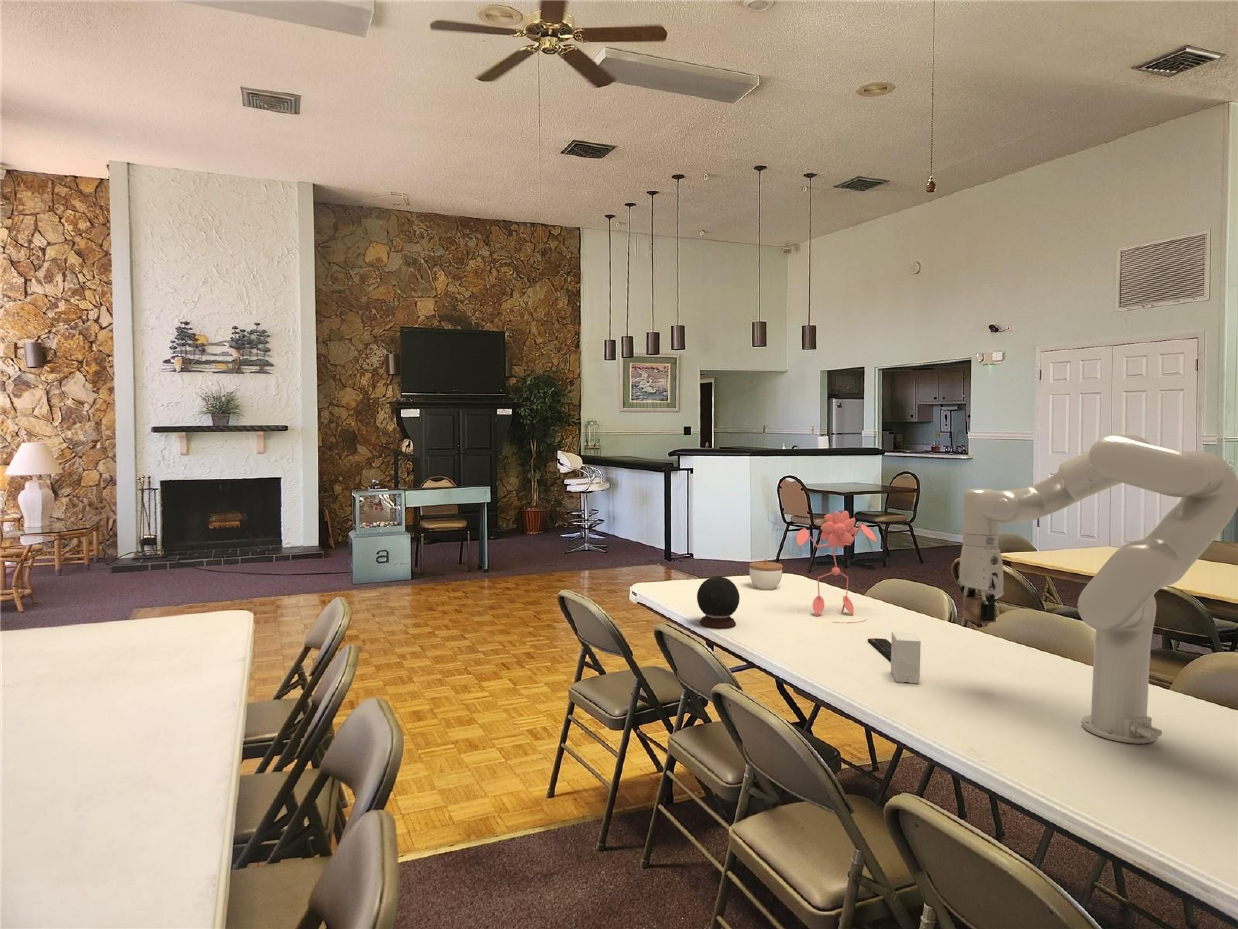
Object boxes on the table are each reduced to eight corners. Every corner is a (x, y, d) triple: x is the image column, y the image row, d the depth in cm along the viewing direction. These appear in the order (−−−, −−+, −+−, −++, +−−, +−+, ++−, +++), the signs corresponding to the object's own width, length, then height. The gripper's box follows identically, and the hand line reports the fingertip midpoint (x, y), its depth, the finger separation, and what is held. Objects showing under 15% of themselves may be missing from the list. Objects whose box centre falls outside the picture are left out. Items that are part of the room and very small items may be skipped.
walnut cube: (995, 622, 176) (996, 601, 176) (977, 623, 175) (977, 602, 175) (981, 617, 181) (981, 596, 181) (962, 618, 180) (963, 597, 180)
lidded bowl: (763, 583, 298) (763, 555, 298) (788, 588, 289) (789, 560, 288) (741, 587, 290) (742, 558, 290) (767, 593, 281) (768, 563, 280)
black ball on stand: (699, 630, 228) (700, 581, 228) (693, 618, 241) (694, 572, 241) (742, 630, 229) (743, 581, 228) (734, 619, 242) (735, 572, 241)
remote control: (895, 669, 195) (896, 664, 195) (867, 642, 219) (867, 638, 219) (916, 669, 195) (916, 664, 195) (885, 643, 219) (885, 638, 219)
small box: (919, 684, 182) (921, 641, 181) (895, 682, 183) (896, 639, 183) (913, 673, 190) (915, 632, 189) (890, 672, 191) (891, 631, 190)
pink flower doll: (790, 611, 252) (794, 507, 250) (864, 611, 255) (869, 508, 252) (805, 624, 237) (809, 514, 234) (884, 624, 239) (889, 514, 237)
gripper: (1020, 545, 170) (1019, 625, 170) (970, 536, 187) (969, 609, 187) (991, 546, 168) (990, 627, 169) (943, 537, 185) (942, 610, 185)
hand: (979, 617), depth 178 cm, fingers closed on walnut cube, 4 cm apart
